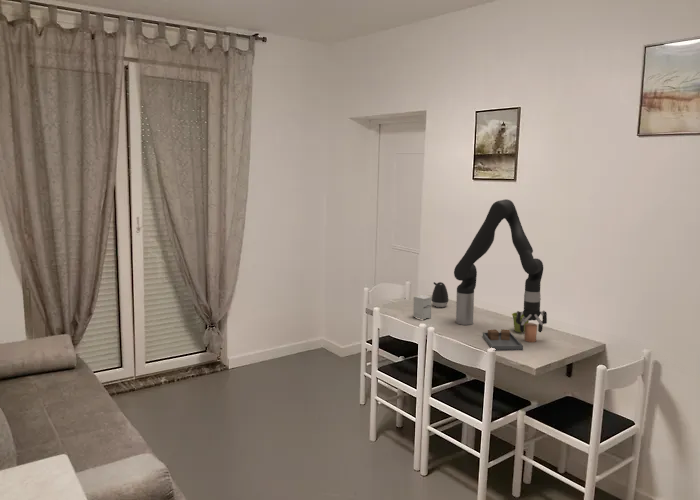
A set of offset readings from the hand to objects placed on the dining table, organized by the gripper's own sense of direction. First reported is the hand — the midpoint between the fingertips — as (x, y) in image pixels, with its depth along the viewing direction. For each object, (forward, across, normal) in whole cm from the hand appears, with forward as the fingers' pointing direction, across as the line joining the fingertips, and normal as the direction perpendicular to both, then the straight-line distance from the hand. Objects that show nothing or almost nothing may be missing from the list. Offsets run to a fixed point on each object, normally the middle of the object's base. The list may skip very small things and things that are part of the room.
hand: (530, 332), depth 258 cm
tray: (+4, +15, +4) cm, 16 cm away
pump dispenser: (+4, +34, -64) cm, 73 cm away
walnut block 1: (+4, +18, -1) cm, 19 cm away
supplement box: (+4, +48, -39) cm, 62 cm away
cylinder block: (+4, 0, 0) cm, 4 cm away
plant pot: (+4, 0, -15) cm, 16 cm away
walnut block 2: (+4, +12, -1) cm, 13 cm away
